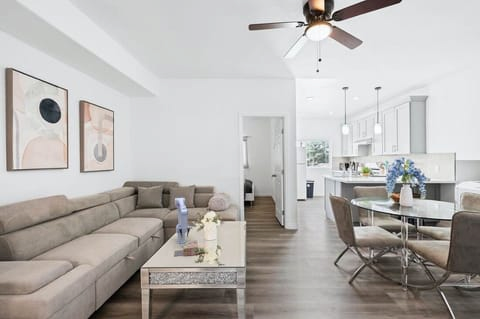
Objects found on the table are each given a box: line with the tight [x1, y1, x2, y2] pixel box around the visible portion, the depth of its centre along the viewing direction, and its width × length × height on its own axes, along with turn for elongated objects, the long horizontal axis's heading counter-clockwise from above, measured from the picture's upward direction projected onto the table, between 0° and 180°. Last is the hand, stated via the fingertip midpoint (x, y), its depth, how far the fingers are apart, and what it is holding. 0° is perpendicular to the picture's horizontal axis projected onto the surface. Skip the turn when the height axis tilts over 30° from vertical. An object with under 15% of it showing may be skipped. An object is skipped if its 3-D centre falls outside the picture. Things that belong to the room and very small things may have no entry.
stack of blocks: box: [182, 240, 199, 257], centre depth 230 cm, size 21×6×12 cm
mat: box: [173, 248, 200, 257], centre depth 228 cm, size 14×28×1 cm, turn 103°
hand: (184, 237), depth 243 cm, fingers open, 4 cm apart
